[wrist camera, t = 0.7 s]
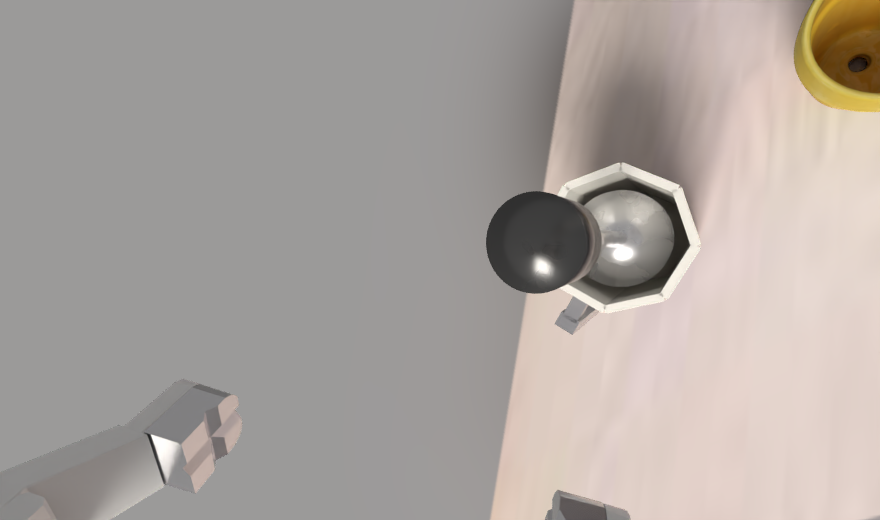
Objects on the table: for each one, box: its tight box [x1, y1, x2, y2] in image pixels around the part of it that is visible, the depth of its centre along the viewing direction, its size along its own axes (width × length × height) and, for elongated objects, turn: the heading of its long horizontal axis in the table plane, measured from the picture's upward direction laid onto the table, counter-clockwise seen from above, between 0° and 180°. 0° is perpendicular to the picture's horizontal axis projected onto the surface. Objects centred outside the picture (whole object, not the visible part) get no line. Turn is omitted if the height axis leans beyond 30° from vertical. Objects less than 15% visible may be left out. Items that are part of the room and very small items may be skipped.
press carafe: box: [555, 162, 701, 335], centre depth 38 cm, size 13×10×16 cm
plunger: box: [486, 190, 674, 294], centre depth 24 cm, size 8×8×22 cm
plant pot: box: [794, 0, 880, 112], centre depth 31 cm, size 10×10×10 cm
